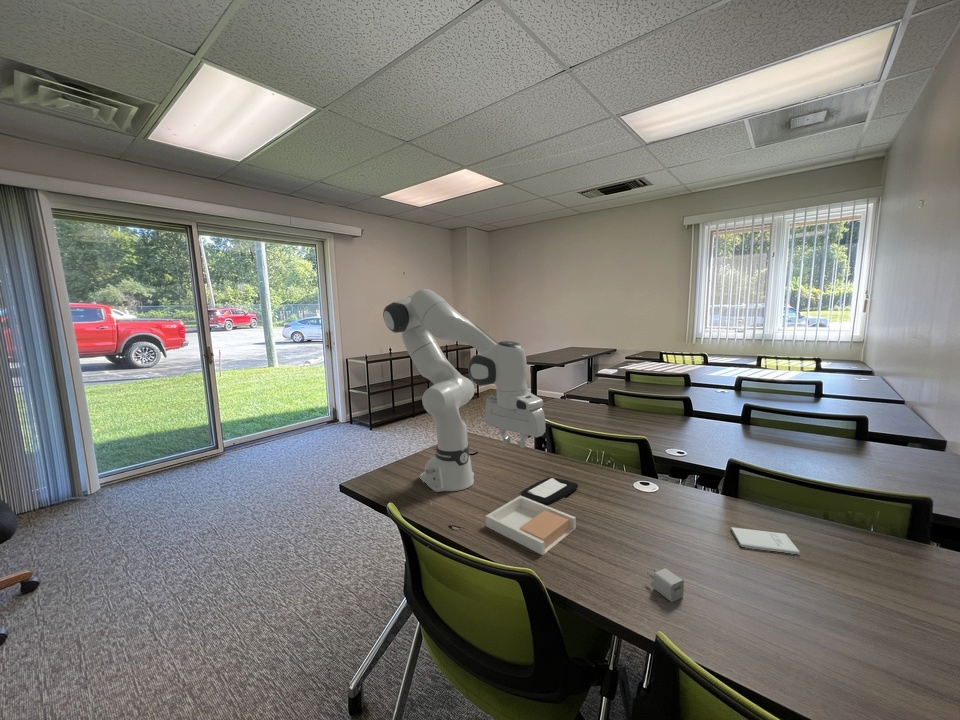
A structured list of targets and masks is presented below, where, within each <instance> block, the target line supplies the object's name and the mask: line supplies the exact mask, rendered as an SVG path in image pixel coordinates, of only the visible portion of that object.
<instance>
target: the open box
mask: <svg viewBox="0 0 960 720" xmlns="http://www.w3.org/2000/svg"><path fill="white" fill-rule="evenodd" d="M545 510H546V511H549V512H551V513H554V514H556V515H558V516H561V517H563V518H566V519H568V520H569V530H568V531H567V532H566V533H564V534H563V535H562V536H561V537H559V538H558V539H557V540H556V541H554V542H553V543H552V544H551V545H549V546H548V547H547V548H546V549H545V542H544V541H542V540H540V539H538V538H536V537H534V536H532V535H530V534H528V533H526V532H523V531H521V530H520V527H521V526H523V525H524V524H526V523H527V522H528V521H530V520H531V519H533V518H534V517H536V516H537V515H539V514H540V513H542V512H543V511H545ZM576 520H577V517H576V516H573V515H571V514H568V513H566V512H563V511H561V510H558V509H557V508H556V509H555V508H553V507H551V506H549V505H548V506H546V505H543V504H541V503H538V502H536V501H533V500H531V499H528V498H526V497H523V496H521V494H519V496H517V497H515V498H514V499H512V500H510V501H508V502H507V503H504V504H503V505H502V506H500V507H498V508H497V509H495V510H493V511H492V512H490V513H488V514H486V515H485V526H486V527H487V528H489V529H491V530H492V531H495V532H496V533H498V534H500V535H501V536H504V537H506V538H508V539H510V540H513V541H514V542H516V543H517V544H520V545H522V546H524V547H526V548H527V549H530V550H532V552H533V551H534V552H535V553H538V554H539V555H541V556H543V555H545V554H546V553H548V551H550V550H551V549H552V548H554V546H556V545H557V544H558V543H560V542H561V541H562V540H563V539H565V538H566V537H567V536H568V535H569V534H570V533H572V532H573V531H574V530H576V528H577V521H576Z"/></svg>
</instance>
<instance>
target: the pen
mask: <svg viewBox="0 0 960 720" xmlns="http://www.w3.org/2000/svg"><path fill="white" fill-rule="evenodd" d="M448 527H449V528H451V529H453V530H456V531H458V530H460V529H464V530H465V528H464V527H461V526H458V525H455V524H452V525H448Z"/></svg>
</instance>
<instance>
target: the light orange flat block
mask: <svg viewBox="0 0 960 720" xmlns="http://www.w3.org/2000/svg"><path fill="white" fill-rule="evenodd" d="M520 530H521V531H523V532H526V533H528V534H530V535H532V536H534V537H536V538H538V539H540V540H542V541H544V542H545V549H546V548H547V547H548V546H549V545H551V544H552V543H553V542H554V541H556V540H557V539H558V538H559V537H561V536H562V535H563V534H564V533H566V532H567V531H568V530H569V520H568V519H566V518H563V517H561V516H558V515H556V514H554V513H551V512H549V511H546V510H545V511H543V512H542V513H540V514H539V515H537V516H536V517H534V518H533V519H531V520H530V521H528V522H527V523H526V524H524V525H523V526H521V527H520Z"/></svg>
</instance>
